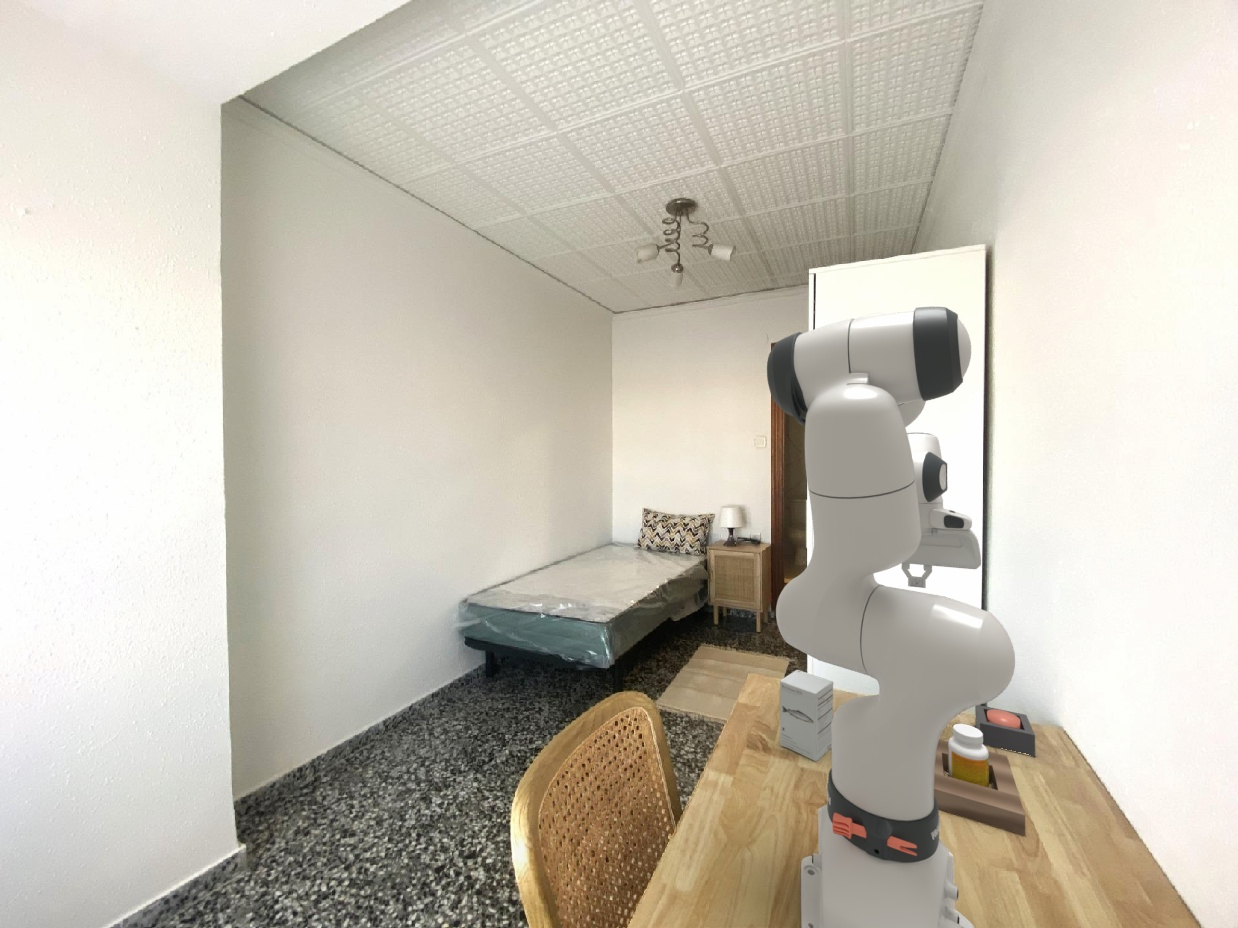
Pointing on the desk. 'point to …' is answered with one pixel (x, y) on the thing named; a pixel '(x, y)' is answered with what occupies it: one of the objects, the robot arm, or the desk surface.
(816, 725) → the supplement box
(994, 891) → the desk surface
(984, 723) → the button box
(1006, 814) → the brown bottle holder
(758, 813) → the desk surface
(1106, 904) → the desk surface
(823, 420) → the robot arm
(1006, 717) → the button
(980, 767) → the supplement bottle
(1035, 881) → the desk surface
